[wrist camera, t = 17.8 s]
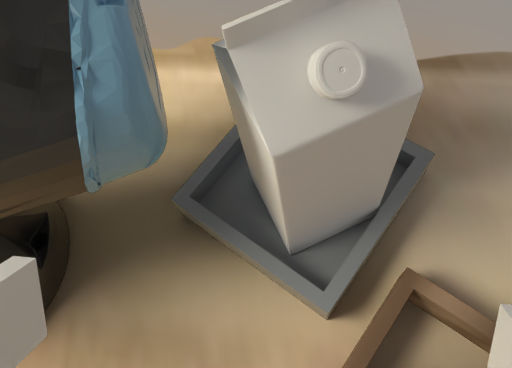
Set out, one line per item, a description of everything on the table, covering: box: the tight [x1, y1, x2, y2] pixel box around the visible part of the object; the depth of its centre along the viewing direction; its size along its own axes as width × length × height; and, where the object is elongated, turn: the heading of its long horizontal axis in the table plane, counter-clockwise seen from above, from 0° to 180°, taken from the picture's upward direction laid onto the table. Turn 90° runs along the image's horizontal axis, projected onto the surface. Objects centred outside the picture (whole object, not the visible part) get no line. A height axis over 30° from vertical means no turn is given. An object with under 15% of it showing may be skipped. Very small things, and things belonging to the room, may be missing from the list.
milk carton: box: [212, 0, 424, 255], centre depth 24 cm, size 7×7×19 cm
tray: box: [171, 125, 435, 320], centre depth 32 cm, size 14×14×3 cm
